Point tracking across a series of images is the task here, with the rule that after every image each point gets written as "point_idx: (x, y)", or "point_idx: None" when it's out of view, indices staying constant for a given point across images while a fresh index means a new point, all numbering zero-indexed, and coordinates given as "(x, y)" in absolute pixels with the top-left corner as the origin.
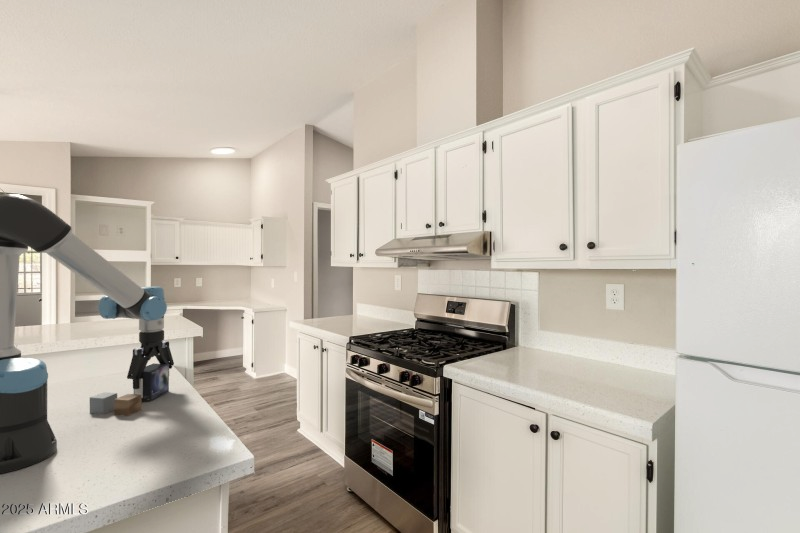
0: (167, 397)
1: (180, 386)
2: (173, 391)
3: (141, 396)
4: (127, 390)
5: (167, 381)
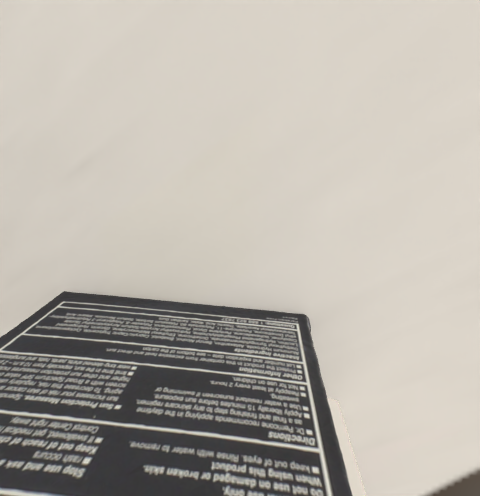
0: None
1: (427, 457)
2: None
3: None
4: (378, 21)
5: None
